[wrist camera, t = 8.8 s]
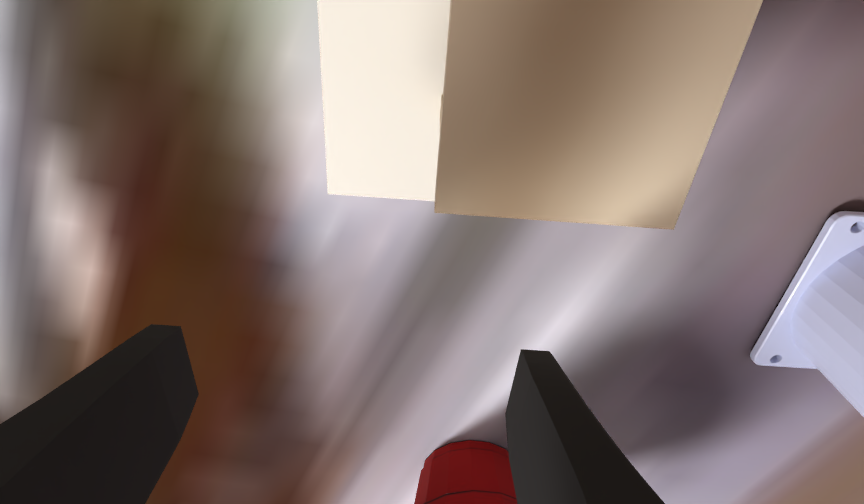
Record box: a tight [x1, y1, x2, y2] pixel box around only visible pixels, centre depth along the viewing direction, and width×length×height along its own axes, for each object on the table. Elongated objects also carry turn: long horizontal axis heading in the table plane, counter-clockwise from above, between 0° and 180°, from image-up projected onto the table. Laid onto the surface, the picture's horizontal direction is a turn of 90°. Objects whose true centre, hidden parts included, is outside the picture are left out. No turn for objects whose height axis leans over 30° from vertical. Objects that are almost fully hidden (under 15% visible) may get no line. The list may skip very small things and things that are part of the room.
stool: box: [435, 0, 763, 230], centre depth 12 cm, size 5×5×7 cm
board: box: [317, 0, 451, 201], centre depth 15 cm, size 13×11×1 cm
